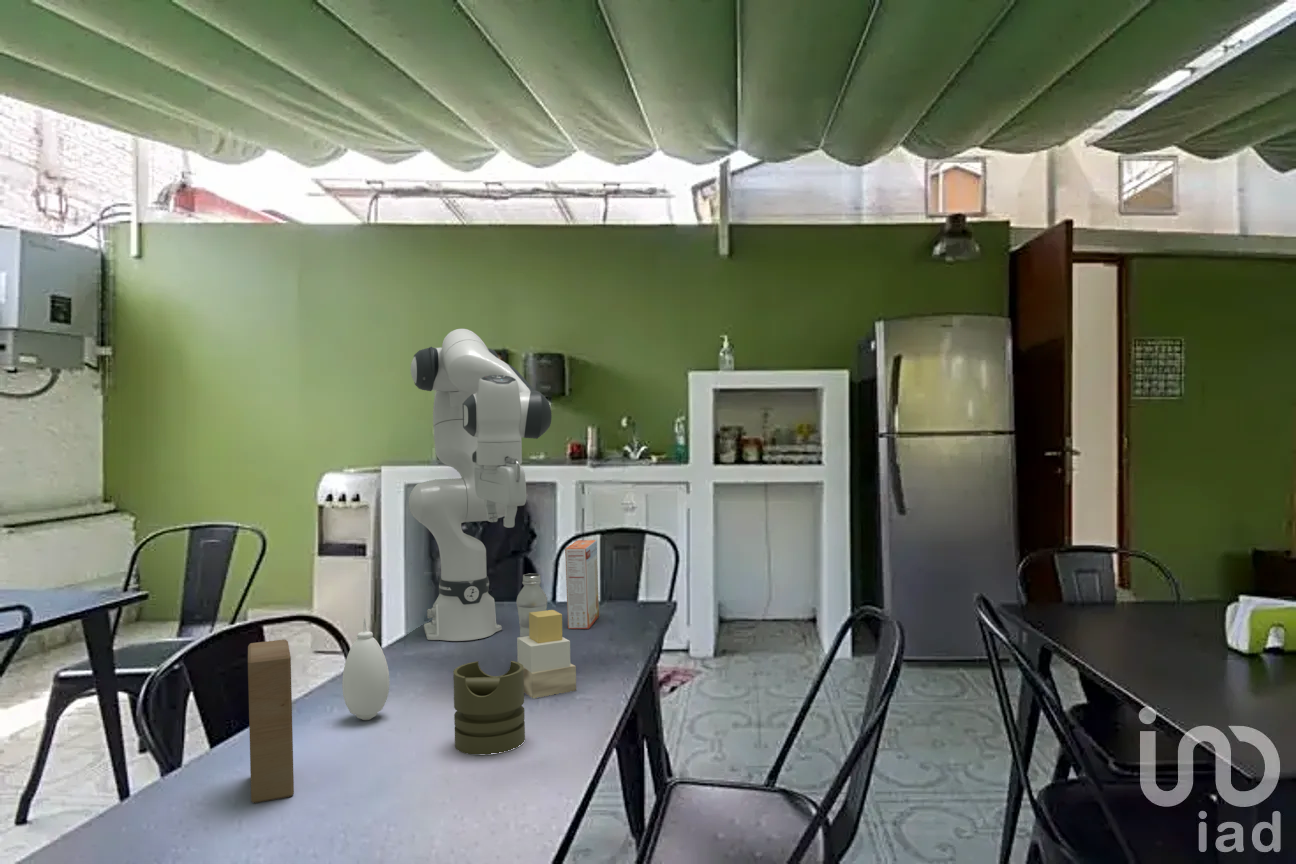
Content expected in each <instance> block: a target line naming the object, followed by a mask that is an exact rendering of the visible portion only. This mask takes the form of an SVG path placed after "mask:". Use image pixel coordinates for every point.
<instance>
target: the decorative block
mask: <svg viewBox="0 0 1296 864" xmlns="http://www.w3.org/2000/svg"><path fill="white" fill-rule="evenodd" d="M291 660H292V659H291V652H290V645H289V641H288V640H287V639H276V640H269V641H267V640H266V641H259V642H251V643H249V644H248V646H247V682H248V683H247V684H248V719H249V720H248V721H249V723H248V724H249V725H248V726H249V758H250V760H249V761H250V762H249V763H250V768H249V769H250V802H251V803H253V804H258V803H259V804H260V803H264V802H269V801H275V800H282V799H285V798H291V797H293V796H294V793H295V787H294V786H295V784H294V783H295V781H294V778H295V777H294V744H293V743H294V742H293V740H294V739H293V735H294V734H293V706H292V705H293V698H292V697H293V696H292V693H293V692H292V661H291Z"/></svg>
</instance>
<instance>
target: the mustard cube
mask: <svg viewBox="0 0 1296 864" xmlns="http://www.w3.org/2000/svg"><path fill="white" fill-rule="evenodd" d="M562 637H563V614H562V613H560V612H559V611H557V610H555V609H549V610H546V611H538V612H529V638H531V639H532V640H534V641H535V642H537V643H544V642H551V641H558V640H562Z"/></svg>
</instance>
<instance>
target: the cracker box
mask: <svg viewBox="0 0 1296 864" xmlns="http://www.w3.org/2000/svg"><path fill="white" fill-rule="evenodd" d="M564 551H565V552H564V554H565V578H566V579H565V581H566V608H567V609H566V610H567V629H568V630H589V629H590V628H591V627H592V626H593V625H594V623H595V622H596V621H597V620H598V618H599V617H600V601H599V574H598V573H599V571H598V570H599V569H598V541H597V539H595V540H594V539H578V540H576V541H574V542H572V543H571V544H570V545H568V546H567V547H565V549H564Z"/></svg>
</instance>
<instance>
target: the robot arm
mask: <svg viewBox="0 0 1296 864" xmlns="http://www.w3.org/2000/svg"><path fill="white" fill-rule="evenodd" d="M410 375H411V378H412V380H413V382H414V385H415V387H416V388H418V390H422V391H427V392H432V391H436V392H435V394H434V398H433V411H432V422H433V423H432V425H433V439H434V450H435V455H436V457H437V459H438V460H439V461H440V462H441V463H442V464H444V465H446V466H448V467H451V468H452V469H454V470H456V472H458V474H459V475H460V478H439V479H431V480H427V481H422V482H418V483H417V484H416V485H415V486H414V487H413V488H412V490H411V492H410V494H409V498H408V508H409V511H410V513H411V515H412V517H413V518H414V519H415V520H416V521H417V522H418V523H420V524H422V525H423V526H424V527H425V528H426V529H428V530H429V531H428V532H430V533H431V534H432V535H433V537H434V539H435V541H436V543H437V547H438V550H439V558H440V573H441V574H440V575H441V578H440V579H439V584H438V593H439V594H438V597H437V598H436V600H435V601H434V603H433V604H432V607H431V608H427V609H426V616H427V619H432V620H431V621H430V622H426V623H424V624H423V631H424V634H425V636H426V639H427V641H428V640H429V641H439V640H440V641H448V642H449V641H450V642H461V641H462V642H463V641H474V640H478V639H479V640H480V639H484V638H487V637H490V636H493V635H494V634H495V633H497V632H500V631H502V630H503V627H502V625H501V624H498V623H497V616H496V605H495V603H496V602H495V598H494V597H493V596H492V595H490V594H489V590H490V588H489V587H490V581H489V576H487V574H488V573H487V547H486V546H485V545H484V543H483V542H482V541H481V540H480V539H478V538H476V537H474V536H472V535H470V534H466V533H464V531H463V528H462V524H463V523H471V522H486V521H487V522H490V523H497V522H498V521H499V519H500V518H503V527H505V528H509V529H510V528H514V527H515V524H516V523H515V519H516V515H517V511H518V507H522V506H525V504H526V502H527V482H526V472H525V470H524V468H523V467H522V466H521V465H522V463H523V449H522V447H523V446H522V445H523V442H522V439H523V438H524V439H536V440H537V439H539V438H540V437H542V436H543V435H544V434H545V433H546V432H547V431H548V430H549V428H550V427H551V424H552V418H553V417H552V409H551V405H550V402H549V401H548V398H546V397H545V395H544V394H542V393H541V392H540V391H538V390H535V389H534V387H533V386H531V384H530V383H529V382H528V381H527V379H525V377H524V376H523V375H522V374H521V373H520V372H519V371H518V370H517V368H515V367H514V366H512V365H511V364H509V363H507V362H505V361H504V360H502V359H500V358H499V355H498V353H497V352H496V351H495V350H494V349H491V348H488V346H487V345H486V344H485V342H484V341H483V340H482V338H481V337H480V336H479V335H478V334H477V333H475V332H474V331H472V330H470V329H467V328H457V329H454V330H451V331H450V332H448V333H447V335H445V336H444V338H443V341H442V345H441V347H433V346H429V347H426V348H422V349H419V350H417V352H415V353H414V355H413V358H412V360H411V363H410Z"/></svg>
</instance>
